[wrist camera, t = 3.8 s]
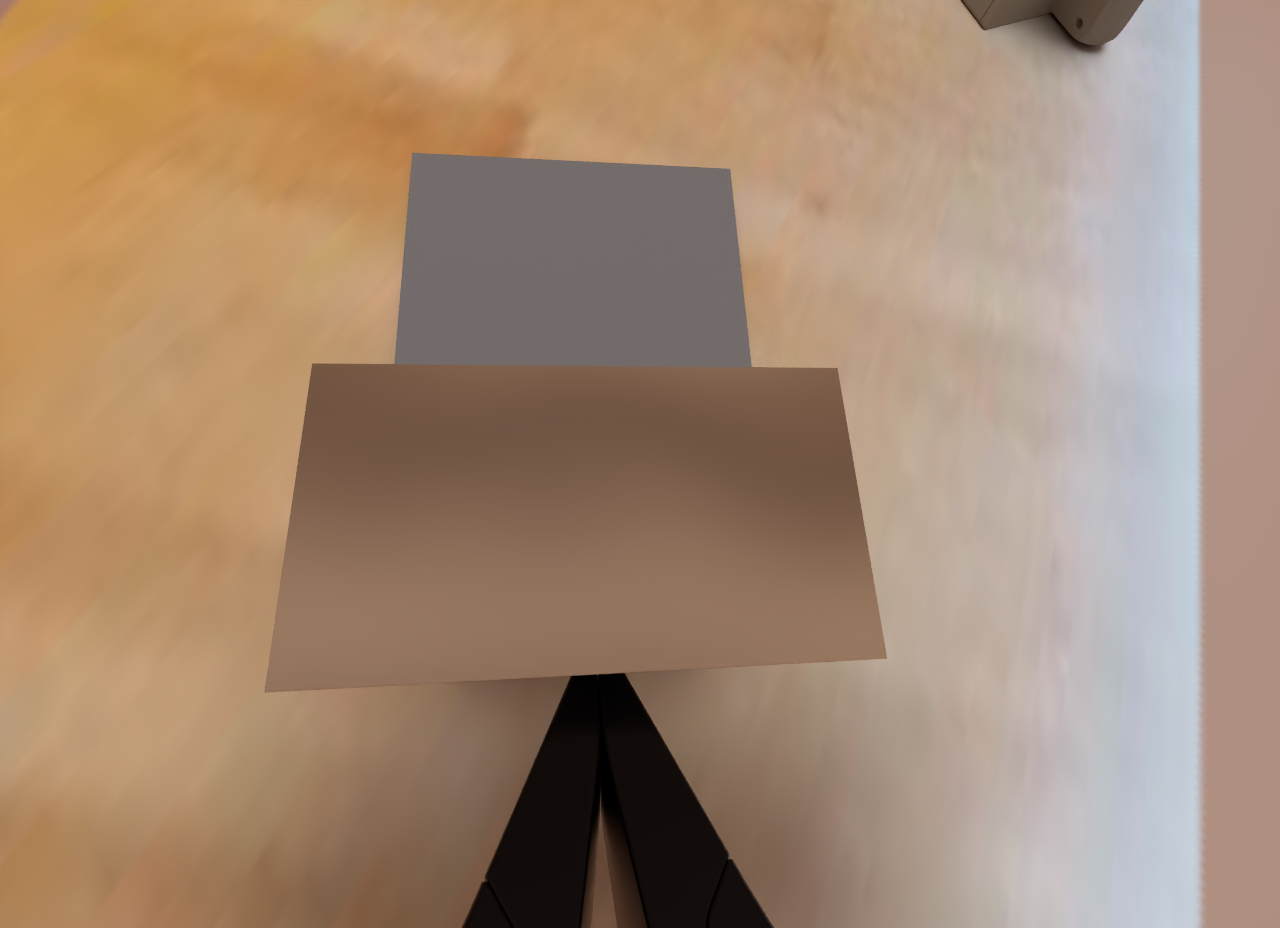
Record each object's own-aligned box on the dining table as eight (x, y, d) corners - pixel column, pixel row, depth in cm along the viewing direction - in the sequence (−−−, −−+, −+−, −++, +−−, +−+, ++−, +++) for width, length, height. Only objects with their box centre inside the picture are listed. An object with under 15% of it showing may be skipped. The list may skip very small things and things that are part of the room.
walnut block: (711, 653, 20) (887, 658, 9) (449, 667, 19) (265, 692, 8) (700, 515, 22) (836, 368, 10) (457, 521, 21) (312, 363, 9)
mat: (761, 488, 22) (773, 479, 21) (387, 495, 21) (373, 485, 19) (727, 175, 26) (736, 149, 25) (414, 160, 25) (404, 131, 23)
